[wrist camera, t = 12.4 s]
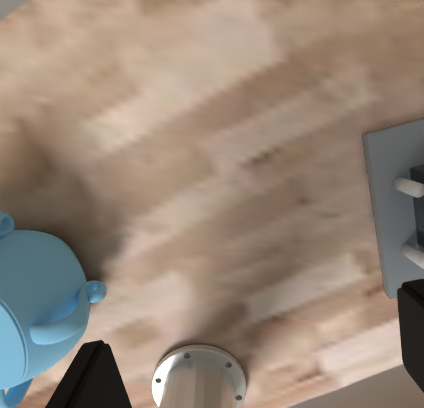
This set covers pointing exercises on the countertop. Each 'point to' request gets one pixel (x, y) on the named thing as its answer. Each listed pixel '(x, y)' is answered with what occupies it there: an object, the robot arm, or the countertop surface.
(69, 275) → the decorative pot
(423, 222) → the drive
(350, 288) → the countertop surface
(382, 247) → the peg board
